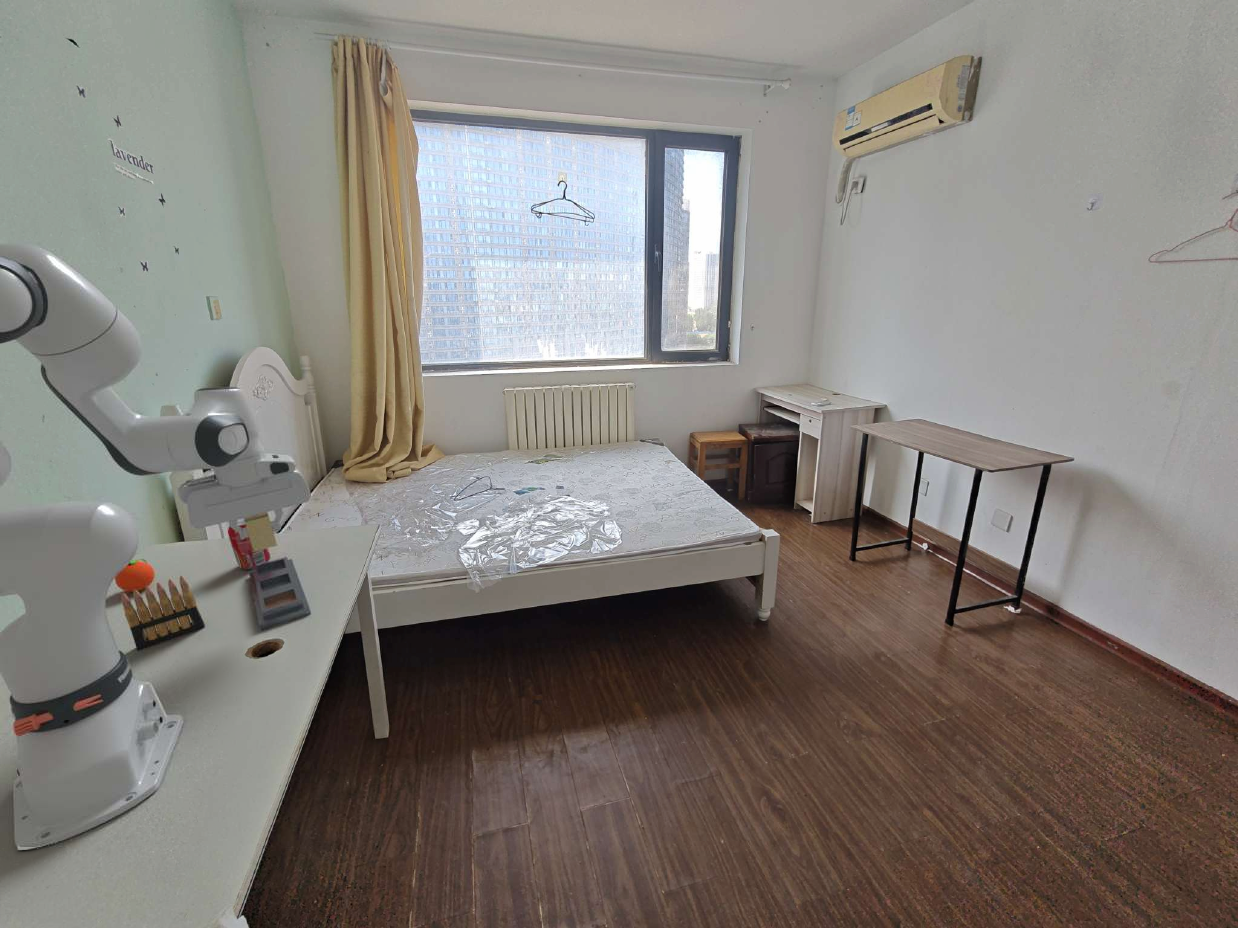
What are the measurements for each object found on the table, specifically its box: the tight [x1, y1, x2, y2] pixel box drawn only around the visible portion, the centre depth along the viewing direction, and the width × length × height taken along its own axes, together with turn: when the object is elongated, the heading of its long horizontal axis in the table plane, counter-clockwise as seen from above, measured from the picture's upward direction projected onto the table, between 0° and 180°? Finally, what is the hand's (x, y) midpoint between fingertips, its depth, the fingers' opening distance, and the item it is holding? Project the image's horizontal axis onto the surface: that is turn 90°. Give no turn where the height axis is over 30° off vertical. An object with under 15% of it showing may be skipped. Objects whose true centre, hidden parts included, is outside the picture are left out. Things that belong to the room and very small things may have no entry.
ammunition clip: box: [121, 575, 206, 651], centre depth 107 cm, size 11×2×12 cm, turn 130°
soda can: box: [227, 518, 271, 570], centre depth 135 cm, size 7×7×12 cm
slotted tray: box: [248, 556, 312, 631], centre depth 122 cm, size 28×9×3 cm, turn 36°
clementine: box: [114, 558, 156, 593], centre depth 127 cm, size 8×7×7 cm
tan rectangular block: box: [244, 512, 278, 552], centre depth 110 cm, size 4×4×6 cm
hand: (261, 533), depth 110 cm, fingers closed on tan rectangular block, 4 cm apart
